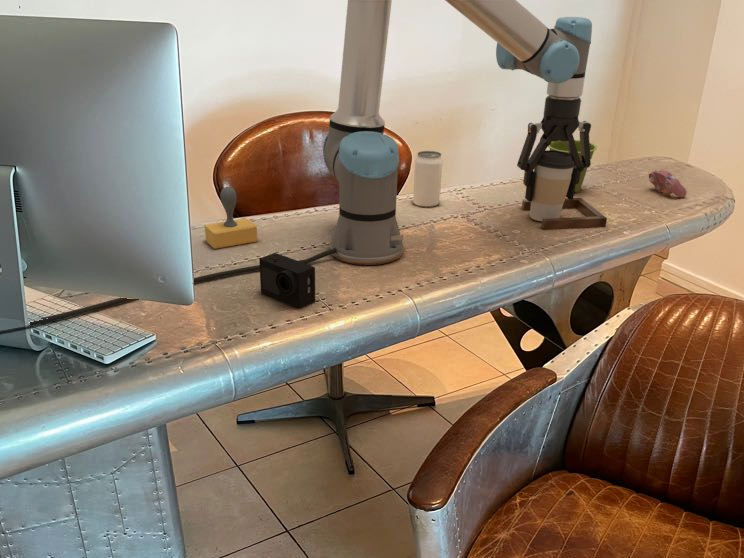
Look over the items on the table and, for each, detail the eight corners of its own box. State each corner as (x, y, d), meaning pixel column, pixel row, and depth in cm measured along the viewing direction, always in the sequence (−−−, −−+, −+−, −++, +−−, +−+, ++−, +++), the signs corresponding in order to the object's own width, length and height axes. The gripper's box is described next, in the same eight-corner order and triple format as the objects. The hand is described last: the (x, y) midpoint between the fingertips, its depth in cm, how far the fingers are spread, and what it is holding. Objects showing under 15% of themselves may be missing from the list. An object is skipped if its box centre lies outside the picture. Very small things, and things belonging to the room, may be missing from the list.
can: (444, 205, 196) (447, 155, 190) (420, 208, 194) (423, 158, 188) (431, 198, 202) (435, 149, 195) (408, 201, 200) (411, 151, 193)
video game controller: (648, 193, 210) (643, 170, 206) (664, 184, 210) (658, 161, 206) (673, 205, 202) (668, 181, 198) (689, 195, 202) (684, 171, 198)
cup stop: (543, 229, 182) (544, 220, 181) (521, 208, 195) (522, 200, 194) (605, 226, 184) (607, 218, 183) (579, 205, 197) (581, 197, 196)
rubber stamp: (214, 249, 172) (210, 193, 165) (205, 241, 176) (200, 186, 170) (258, 242, 175) (255, 187, 169) (247, 233, 180) (244, 180, 173)
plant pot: (538, 182, 213) (544, 139, 207) (583, 183, 212) (590, 139, 206) (546, 196, 203) (552, 151, 197) (594, 197, 202) (602, 152, 196)
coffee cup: (561, 212, 193) (573, 148, 185) (566, 225, 185) (580, 158, 177) (522, 209, 193) (533, 145, 185) (526, 222, 185) (538, 155, 178)
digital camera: (255, 294, 152) (253, 259, 148) (276, 286, 155) (274, 251, 152) (294, 311, 146) (293, 275, 142) (315, 301, 149) (315, 266, 146)
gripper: (604, 91, 179) (587, 191, 191) (509, 94, 177) (498, 195, 189) (619, 98, 173) (600, 201, 185) (520, 101, 170) (508, 205, 182)
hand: (548, 198), depth 187 cm, fingers closed on coffee cup, 9 cm apart
